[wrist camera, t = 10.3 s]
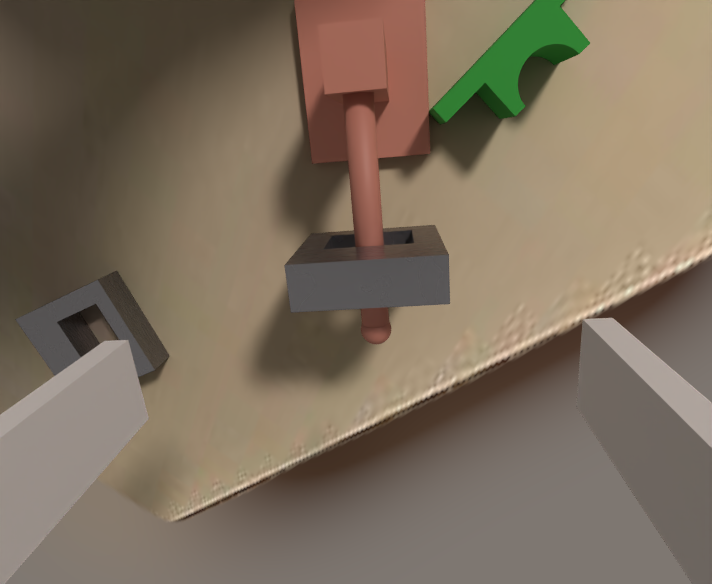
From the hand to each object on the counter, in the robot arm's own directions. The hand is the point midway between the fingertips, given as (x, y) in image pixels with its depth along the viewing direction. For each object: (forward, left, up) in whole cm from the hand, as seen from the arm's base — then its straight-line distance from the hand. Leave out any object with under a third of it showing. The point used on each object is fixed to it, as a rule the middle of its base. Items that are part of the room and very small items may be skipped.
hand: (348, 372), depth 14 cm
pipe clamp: (-10, +9, -22) cm, 26 cm away
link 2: (0, 0, -18) cm, 18 cm away
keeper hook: (-5, 0, -22) cm, 22 cm away
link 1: (+7, -23, -22) cm, 32 cm away
